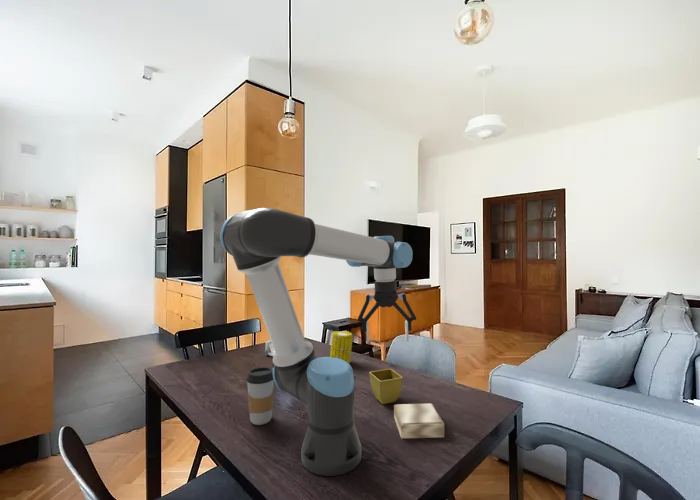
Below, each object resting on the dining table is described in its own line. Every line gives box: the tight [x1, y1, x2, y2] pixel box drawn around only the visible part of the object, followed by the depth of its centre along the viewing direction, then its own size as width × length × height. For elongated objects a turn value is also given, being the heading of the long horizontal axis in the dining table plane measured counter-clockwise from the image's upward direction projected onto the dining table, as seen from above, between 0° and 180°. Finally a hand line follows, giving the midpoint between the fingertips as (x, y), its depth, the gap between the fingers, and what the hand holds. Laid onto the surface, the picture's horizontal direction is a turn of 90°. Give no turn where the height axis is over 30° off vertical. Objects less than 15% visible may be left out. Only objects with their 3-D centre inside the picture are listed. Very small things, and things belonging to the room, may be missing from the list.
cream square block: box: [393, 403, 445, 439], centre depth 99 cm, size 12×12×4 cm
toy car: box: [262, 340, 275, 358], centre depth 164 cm, size 18×10×12 cm
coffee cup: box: [246, 366, 275, 426], centre depth 103 cm, size 8×8×15 cm
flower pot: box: [369, 368, 403, 405], centre depth 115 cm, size 9×9×9 cm
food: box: [329, 330, 354, 365], centre depth 153 cm, size 15×12×10 cm
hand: (387, 340), depth 118 cm, fingers open, 13 cm apart
